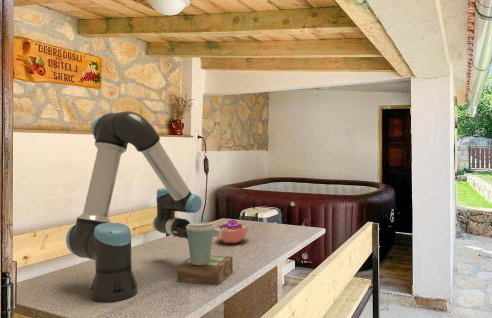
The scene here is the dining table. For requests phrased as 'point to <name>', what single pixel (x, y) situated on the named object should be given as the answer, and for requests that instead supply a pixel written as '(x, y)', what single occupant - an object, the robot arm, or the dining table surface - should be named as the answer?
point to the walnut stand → (205, 270)
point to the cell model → (232, 232)
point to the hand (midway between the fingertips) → (213, 235)
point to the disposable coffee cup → (200, 242)
